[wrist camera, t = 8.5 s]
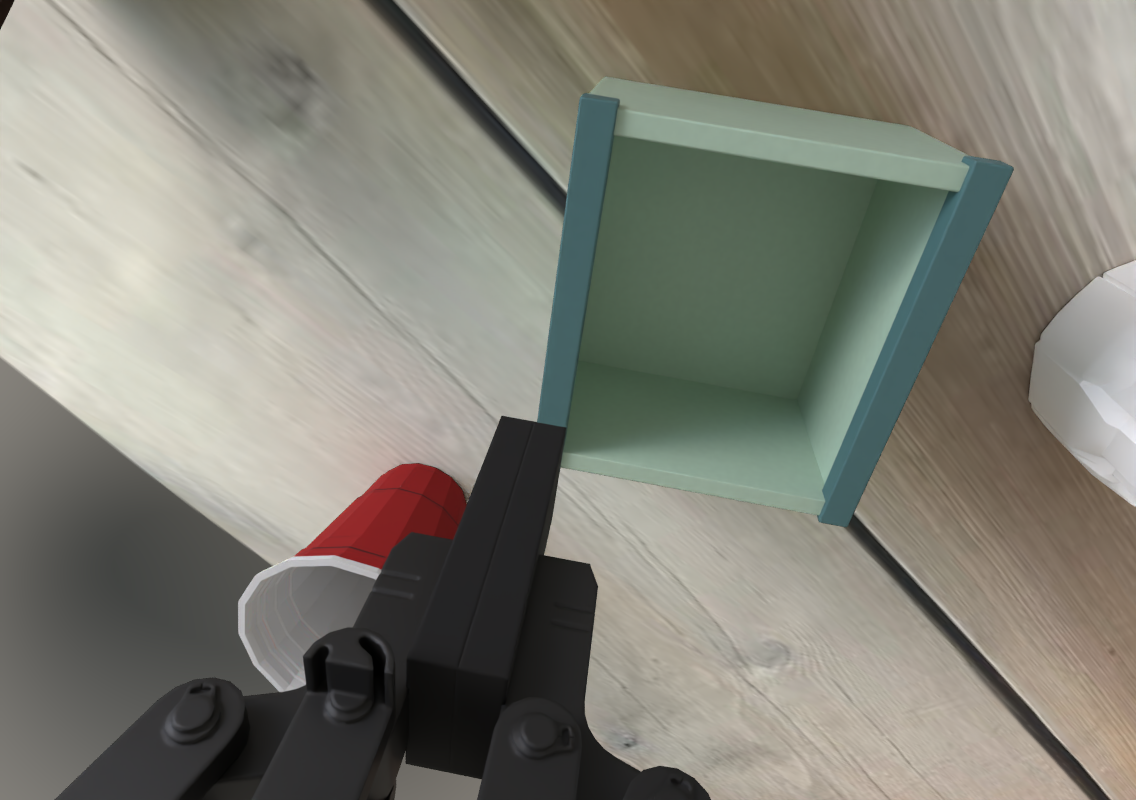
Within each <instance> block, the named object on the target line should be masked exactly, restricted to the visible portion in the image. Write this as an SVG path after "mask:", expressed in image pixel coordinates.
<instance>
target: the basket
mask: <svg viewBox="0 0 1136 800" xmlns="http://www.w3.org/2000/svg"><path fill="white" fill-rule="evenodd" d="M1013 170H1014V168H1013V167H1012V166H1010V165H1008V164H1006V163H1004V162H1001V161H997V160H991V159H985V158H979V157H973V156H969V155H967V154H965V153H963V152H961V151H959V150H957V149H955V148H953V147H951V146H949V145H947V144H945V143H943V142H941V141H939V140H937V139H935V138H933V137H931V136H929V135H927V134H925V133H923V132H921V131H919V130H917V129H915V128H913V127H911V126H907V125H901V124H895V123H889V122H882V121H876V120H870V119H864V118H858V117H852V116H845V115H839V114H833V113H827V112H821V111H815V110H808V109H802V108H796V107H790V106H784V105H778V104H771V103H765V102H759V101H753V100H747V99H741V98H734V97H728V96H722V95H716V94H710V93H704V92H697V91H691V90H685V89H679V88H673V87H667V86H660V85H654V84H648V83H642V82H636V81H630V80H623V79H618V78H611V77H604V78H603V79H602V80H601V81H600V82H599V83H598V84H597V85H596V86H595V88H594V89H593V90H592V91H591V92H590V93H589V94H588V93H584V94H583V95H582V96H581V97H580V101H579V108H578V116H577V124H576V131H575V139H574V146H573V154H572V162H571V169H570V177H569V184H568V192H567V200H566V207H565V215H564V222H563V230H562V238H561V245H560V253H559V260H558V268H557V276H556V283H555V291H554V298H553V306H552V314H551V321H550V329H549V336H548V344H547V352H546V359H545V367H544V374H543V382H542V390H541V397H540V405H539V412H538V420H537V422H539V423H544V424H550V425H555V426H561V427H566V434H565V440H564V447H563V453H562V459H561V465H560V468H561V467H562V468H568V469H573V470H578V471H584V472H589V473H594V474H600V475H605V476H610V477H616V478H621V479H626V480H632V481H637V482H642V483H648V484H653V485H658V486H664V487H669V488H674V489H679V490H685V491H690V492H695V493H701V494H706V495H711V496H717V497H722V498H727V499H733V500H738V501H743V502H749V503H754V504H759V505H765V506H770V507H775V508H781V509H786V510H791V511H797V512H802V513H807V514H813V515H817V517H818V521H819V522H820V523H826V524H831V525H836V526H841V527H847V526H848V524H849V522H850V520H851V518H852V516H853V513H854V511H855V509H856V507H857V505H858V503H859V501H860V498H861V496H862V494H863V492H864V490H865V488H866V486H867V483H868V481H869V479H870V477H871V475H872V473H873V471H874V468H875V466H876V464H877V462H878V460H879V458H880V456H881V453H882V451H883V449H884V447H885V445H886V443H887V441H888V438H889V436H890V434H891V432H892V430H893V428H894V426H895V423H896V421H897V419H898V417H899V415H900V413H901V411H902V408H903V406H904V404H905V402H906V400H907V398H908V396H909V393H910V391H911V389H912V387H913V385H914V383H915V381H916V378H917V376H918V374H919V372H920V370H921V368H922V365H923V363H924V361H925V359H926V357H927V355H928V353H929V350H930V348H931V346H932V344H933V342H934V340H935V338H936V335H937V333H938V331H939V329H940V327H941V325H942V323H943V320H944V318H945V316H946V314H947V312H948V310H949V308H950V305H951V303H952V301H953V299H954V297H955V295H956V293H957V290H958V288H959V286H960V284H961V282H962V280H963V278H964V275H965V273H966V271H967V269H968V267H969V265H970V263H971V260H972V258H973V256H974V254H975V252H976V250H977V248H978V245H979V243H980V241H981V239H982V237H983V235H984V233H985V230H986V228H987V226H988V224H989V222H990V220H991V218H992V215H993V213H994V211H995V209H996V207H997V205H998V203H999V200H1000V198H1001V196H1002V194H1003V192H1004V190H1005V188H1006V185H1007V183H1008V181H1009V179H1010V177H1011V175H1012V172H1013Z"/></svg>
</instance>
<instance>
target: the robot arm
mask: <svg viewBox="0 0 1136 800" xmlns="http://www.w3.org/2000/svg"><path fill="white" fill-rule="evenodd" d="M565 434H566V427H561V426H555V425H550V424H544V423H539V422H533V421H528V420H522V419H517V418H511V417H506V416H501V419H500V421H499V424H498V427H497V429H496V432H495V434H494V437H493V439H492V442H491V444H490V447H489V449H488V452H487V455H486V457H485V460H484V462H483V465H482V467H481V470H480V472H479V475H478V477H477V480H476V483H475V485H474V488H473V490H472V493H471V495H470V498H469V500H468V503H467V506H466V508H465V511H464V513H463V516H462V518H461V521H460V523H459V526H458V528H457V531H456V534H455V536H454V539H453V540H452V539H447V538H441V537H436V536H431V535H426V534H420V533H415V532H411V533H410V534H408V535H407V536H406V537H405V538H404V539H402V540H401V541H400V542H399V543H398V544H397V545H395V546H394V547H393V548H392V549H391V551H390V553H389V555H388V557H387V559H386V561H385V563H384V565H383V567H382V569H381V573H380V574H379V575H378V577H377V579H376V581H375V583H374V585H373V589H372V592H370V594H369V596H368V598H367V600H366V602H365V604H364V606H363V608H362V610H361V612H360V614H359V616H358V618H357V620H356V622H355V624H354V626H353V627H347V628H343V629H340V630H336V631H333V632H329V633H328V634H326V635H325V636H323V637H322V638H320V639H318V640H317V641H315V642H314V643H313V644H312V645H311V647H310V648H309V649H308V650H307V652H306V653H305V654H304V655H303V663H304V671H305V679H306V685H304V686H302V687H300V688H297V689H294V690H289V691H284V692H278V693H269V694H260V695H251V696H243V695H242V692H241V690H239V689H238V688H237V687H236V686H235V685H233V684H232V683H231V682H229V681H226V680H221V679H217V678H205V679H196V680H192V681H190V682H187V683H185V684H182V685H180V686H177V687H175V688H174V689H172V690H171V691H169V692H168V693H167V694H165V695H164V696H163V697H161V698H160V699H159V700H157V701H156V702H155V703H154V704H153V705H152V706H151V707H150V708H149V709H148V710H147V711H146V712H145V713H144V714H143V715H142V716H141V717H140V718H139V719H138V720H137V721H136V722H135V723H134V724H133V725H132V726H130V727H129V728H128V729H127V730H126V731H125V732H124V733H123V734H122V735H121V736H120V737H119V738H118V739H117V740H116V741H115V742H114V743H113V744H112V745H111V746H110V747H109V748H108V749H107V750H106V751H104V752H103V753H102V754H101V755H100V756H99V757H98V758H97V759H96V760H95V761H94V762H93V763H92V764H91V765H90V766H89V767H88V768H87V769H86V770H85V771H84V772H83V773H82V774H81V775H80V776H79V777H78V778H76V780H74V781H73V782H72V783H71V784H70V785H69V786H68V787H67V788H66V789H65V790H64V791H63V792H62V793H61V794H60V795H59V796H58V797H57V798H56V799H55V800H394V798H395V790H396V777H397V774H398V771H399V768H400V765H401V762H402V759H403V757H404V753H405V751H406V764H410V765H414V766H419V767H424V768H429V769H434V770H439V771H444V772H449V773H454V774H459V775H464V776H469V777H474V778H478V779H482V782H481V786H480V790H479V794H478V798H477V800H711V799H710V797H709V794H708V793H707V792H706V790H705V789H704V788H703V787H702V786H701V785H700V784H699V783H698V782H697V781H696V780H695V778H693V777H691V776H690V775H688V774H686V773H684V772H682V771H681V770H679V769H677V768H670V767H664V766H657V767H653V768H649V769H646V770H643V771H642V772H640V771H639V770H637V769H635V768H633V767H632V766H630V765H628V764H626V763H625V762H623V761H621V760H619V759H618V758H616V757H615V756H613V755H612V754H610V753H609V752H608V751H606V750H605V749H604V748H603V747H602V746H601V745H600V744H599V743H598V742H597V740H596V739H595V738H594V736H593V734H592V733H591V731H590V729H589V727H588V724H587V721H586V717H585V693H586V685H587V676H588V668H589V659H590V650H591V642H592V632H593V625H594V616H595V607H596V599H597V590H598V585H597V582H596V580H595V577H594V574H593V572H592V569H591V566H590V564H587V563H582V562H576V561H571V560H566V559H560V558H555V557H550V556H545V555H544V553H545V548H546V544H547V539H548V534H549V530H550V525H551V521H552V516H553V509H554V503H555V497H556V491H557V484H558V478H559V472H560V465H561V459H562V453H563V447H564V440H565Z"/></svg>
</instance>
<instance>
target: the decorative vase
mask: <svg viewBox="0 0 1136 800" xmlns="http://www.w3.org/2000/svg"><path fill="white" fill-rule="evenodd" d="M1028 400H1029V401H1030V403H1031V407H1032V410H1033V411H1034V413H1035V414H1036V415H1037V417H1038V418H1039V419H1040V420H1041V422H1042V423H1043V424H1044V425H1045V426H1046V428H1047V429H1048V430H1049V431H1050V432H1051V433H1052V434H1053V435H1054V436H1055V437H1056V438H1057V439H1058V440H1059V441H1060V442H1061V443H1062V444H1063V445H1064V446H1065V448H1066V449H1067V450H1068V451H1069V452H1070V453H1071V454H1072V455H1073V456H1074V457H1075V458H1076V459H1077V460H1078V461H1079V462H1080V463H1081V464H1082V465H1083V466H1084V467H1085V468H1086V469H1087V470H1088V471H1089V472H1090V473H1091V474H1092V475H1093V476H1095V477H1096V478H1097V479H1098V480H1100V481H1101V482H1102V483H1104V484H1105V485H1106V486H1108V487H1109V488H1110V489H1112V490H1113V491H1114V492H1115V493H1117V494H1118V495H1119V496H1121V497H1122V498H1123V499H1125V500H1126V501H1127V502H1129V503H1130V504H1132V505H1133V506H1135V507H1136V260H1135V261H1132V262H1129V263H1127V264H1124V265H1121V266H1119V267H1116V268H1113V269H1111V270H1109V271H1106V272H1104V274H1103V278H1102V277H1096V278H1095V279H1094V280H1093V281H1091V282H1090V283H1089V284H1088V285H1087V286H1086V287H1085V288H1083V289H1082V290H1081V291H1080V292H1079V293H1078V294H1077V295H1076V296H1075V297H1074V298H1073V299H1072V300H1071V301H1070V302H1069V303H1068V304H1067V305H1066V306H1065V307H1064V308H1062V309H1061V310H1060V311H1059V312H1058V314H1057V315H1056V316H1055V317H1054V318H1053V320H1052V321H1051V322H1050V323H1049V325H1048V326H1047V327H1046V328H1045V330H1044V331H1043V332H1042V333H1041V337H1040V341H1038V342H1037V343H1036V344H1035V350H1034V358H1033V365H1032V372H1031V380H1030V389H1029V397H1028Z"/></svg>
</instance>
